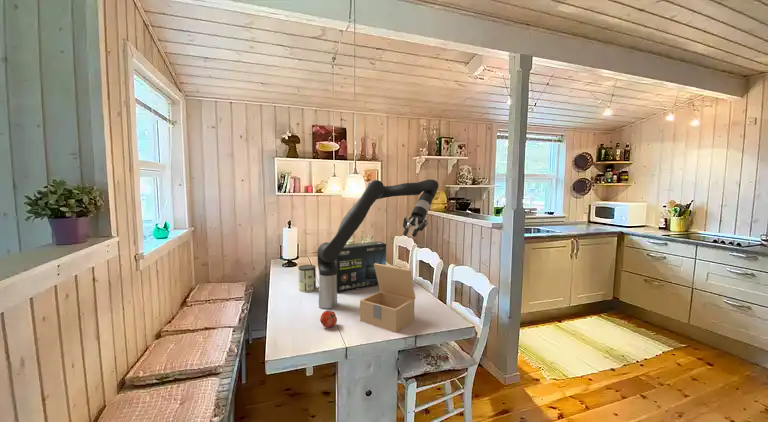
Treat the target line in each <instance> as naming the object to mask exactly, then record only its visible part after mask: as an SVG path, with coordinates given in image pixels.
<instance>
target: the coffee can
mask: <svg viewBox="0 0 768 422" xmlns="http://www.w3.org/2000/svg"><path fill="white" fill-rule="evenodd" d="M297 268H298V291H299V292H302V293H310V292H311V293H312V292H314V291H315V290H317V279H316V277H317V276H316V274H317V273H316V272H317V271H316V268H317V266H316V265H314V264H302V265H299V266H298V267H297Z"/></svg>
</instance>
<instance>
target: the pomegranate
mask: <svg viewBox="0 0 768 422" xmlns="http://www.w3.org/2000/svg"><path fill="white" fill-rule="evenodd" d="M319 322H320V323H321V325H322V327H324V328H327V329H329V328H331V327H334V326H335V325H336V324H337V322H338V317H337V314H336V313H335V311H331V310H325V311H323V312H322V313H321V315H320V318H319Z"/></svg>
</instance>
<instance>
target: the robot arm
mask: <svg viewBox="0 0 768 422" xmlns="http://www.w3.org/2000/svg"><path fill="white" fill-rule="evenodd" d="M438 189H439V182H438V181H437V180H435V179H431V178H430V179H426V180H422V181H418V182H405V183H404V182H403V183H400V184H394V185H387V186H386V185H384V183H383V182H382V181H380V180H377V179H375V180H372V181H371V182H369V183H368V184H367V187H366V188H365V190H364V192H363V193H362V195H361V196H360V197H359V199H358V200H357V201H356V202H355V203H354V204H353V205H352V207H351V208H350V209H349V210H348V212H347V213H346V215H345V216H344V217H343V218H342V220H341V221H340V224H339V227H338V229H337V232H336V234H335V235H334V236H333V238H332V239H331V241H330V242H327V241H326V242H323V243H321V244H320V245H319V246H318V249H317V268H318V276H319V277H318V281H319V282H318V284H319V286H318V287H319V288H318V308H320V309H329V310H330V309H334V308H336V307H337V306H338V293H337V268H336V265H335V260H336V259H337V258H338V256H339V254H340V253H341V251H342V249H343V248H344V246H345V245H346V244H347V243H348V241H349V240H350V239H351V237H352V236H353V235H354V234H355V232H356V231H357V229H358V228H359V227H360V225H361V224H362V223H363V222H364V221H365V218H366V217H367V214H368V213H369V210H370V209H371V208H372V205H373V204H374V203H375V202H376V201H377V200H380V199H385V198H392V197H402V196H419V195H420V197H419V199H418V201H417V202H416V204H415V205H414V207H413V209H412V212H411V214H410V217H409V218H407V217H404V219H403V223H402V227H403V229H404V231H403V236H404V237H407V235H408V234H409V231H410V230H411V229H412V228H413V227H415V228H414V229H413V232H412V234H411V236H412V237H413V238H415V237H416V236H418V233H419V232H422V231H423V230H424V229H425V228H426V227H427V225H428V224H429V222H428V220H427V219H426V217H427V215H428V212H429V211H430V208H431V205H432V202H433V200H434V198H435V196H436V195H437V191H438ZM422 192H423V193H422Z"/></svg>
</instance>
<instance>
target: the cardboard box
mask: <svg viewBox="0 0 768 422" xmlns="http://www.w3.org/2000/svg"><path fill="white" fill-rule="evenodd" d="M415 299H416V298H415ZM415 299H410V298H406V297H402V296H398V295H394V294H390V293H385V292H381V291H380V290H379V291H378V292H375V293H373V294H371V295H369V296H367V297H365V298H363V299H360V300H359V322H362V323H364V324H367V325H372V326H374V327H377V328H380V329H384V330H387V331H389V332H392V333H397V332H399V331H400V330H402V329H404V327H406V326H408V325H409V324H412V323H413V322H414V321H415Z"/></svg>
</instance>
